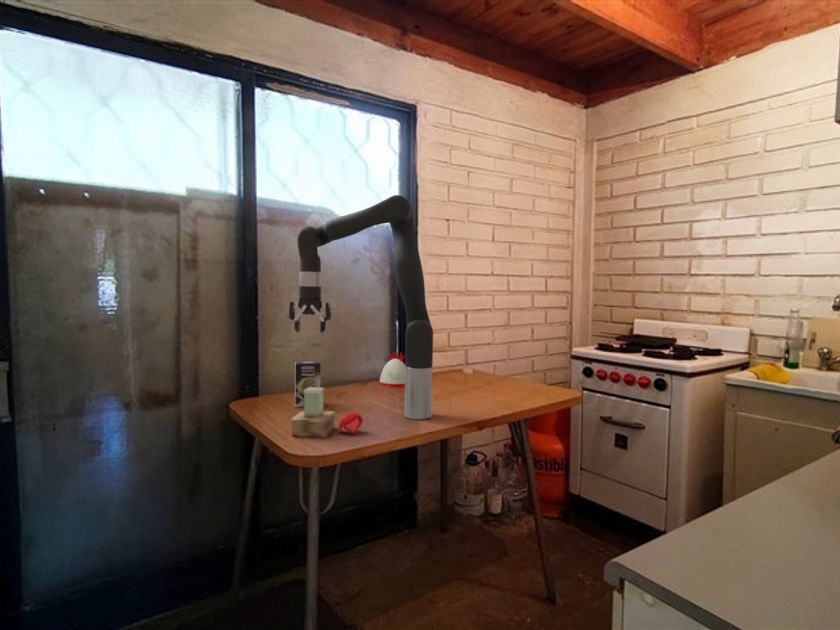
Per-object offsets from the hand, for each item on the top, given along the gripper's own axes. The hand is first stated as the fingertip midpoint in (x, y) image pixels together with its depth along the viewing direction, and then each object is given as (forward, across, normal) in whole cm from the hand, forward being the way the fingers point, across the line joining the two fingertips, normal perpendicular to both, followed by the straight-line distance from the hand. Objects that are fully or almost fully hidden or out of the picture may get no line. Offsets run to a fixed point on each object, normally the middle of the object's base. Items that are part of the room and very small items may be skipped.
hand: (310, 332), depth 171 cm
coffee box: (+28, +4, -10) cm, 30 cm away
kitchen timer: (+28, -23, -53) cm, 64 cm away
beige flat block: (+28, -8, +22) cm, 37 cm away
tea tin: (+23, -8, +22) cm, 33 cm away
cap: (+28, -19, +22) cm, 41 cm away
